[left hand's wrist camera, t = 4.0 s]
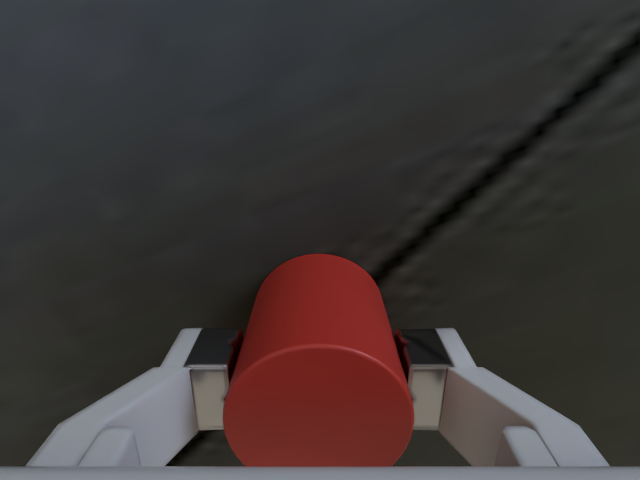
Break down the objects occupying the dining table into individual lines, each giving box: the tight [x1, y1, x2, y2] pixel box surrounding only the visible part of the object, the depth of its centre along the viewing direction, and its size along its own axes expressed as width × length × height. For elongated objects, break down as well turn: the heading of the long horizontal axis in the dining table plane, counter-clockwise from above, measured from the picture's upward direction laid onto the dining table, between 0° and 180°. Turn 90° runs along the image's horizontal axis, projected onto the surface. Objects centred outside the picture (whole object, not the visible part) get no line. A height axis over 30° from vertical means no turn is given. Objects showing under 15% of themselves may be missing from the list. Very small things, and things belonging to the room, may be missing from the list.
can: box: [223, 254, 415, 467], centre depth 10 cm, size 4×4×4 cm
